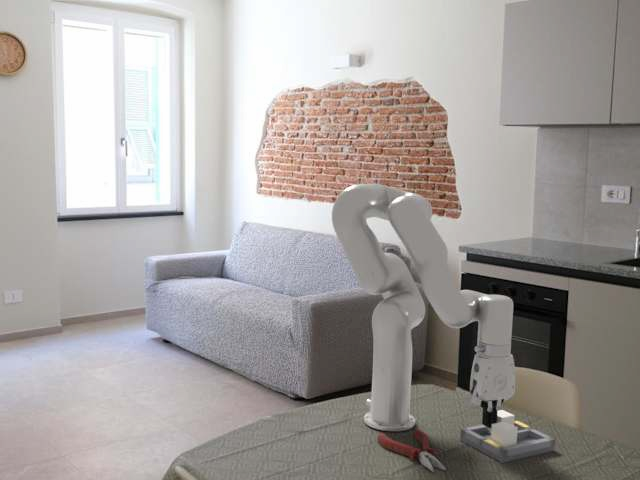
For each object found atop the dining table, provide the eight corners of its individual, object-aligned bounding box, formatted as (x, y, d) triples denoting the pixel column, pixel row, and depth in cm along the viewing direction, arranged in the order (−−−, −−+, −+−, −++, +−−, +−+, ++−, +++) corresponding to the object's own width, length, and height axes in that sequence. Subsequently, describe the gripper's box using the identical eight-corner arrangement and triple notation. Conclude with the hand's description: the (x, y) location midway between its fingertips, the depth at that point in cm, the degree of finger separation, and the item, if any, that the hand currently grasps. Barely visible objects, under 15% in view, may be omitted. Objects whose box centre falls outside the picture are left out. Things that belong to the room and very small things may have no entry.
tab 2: (490, 445, 168) (491, 424, 168) (503, 442, 170) (505, 421, 170) (502, 451, 165) (504, 430, 164) (516, 448, 167) (517, 427, 166)
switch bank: (460, 439, 174) (460, 428, 174) (510, 429, 182) (511, 418, 182) (502, 462, 162) (502, 450, 162) (554, 450, 170) (555, 438, 170)
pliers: (415, 479, 154) (416, 467, 153) (374, 442, 172) (375, 431, 172) (463, 473, 158) (464, 461, 157) (418, 437, 176) (419, 427, 176)
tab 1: (488, 432, 176) (489, 412, 175) (501, 430, 178) (502, 409, 177) (500, 438, 172) (501, 417, 172) (513, 435, 174) (514, 415, 174)
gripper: (479, 356, 164) (474, 436, 166) (529, 349, 171) (524, 426, 173) (457, 348, 170) (453, 425, 172) (507, 342, 177) (502, 416, 179)
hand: (489, 425), depth 173 cm, fingers closed
